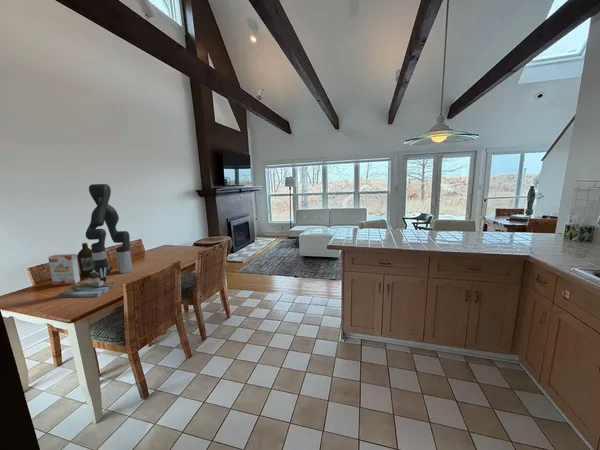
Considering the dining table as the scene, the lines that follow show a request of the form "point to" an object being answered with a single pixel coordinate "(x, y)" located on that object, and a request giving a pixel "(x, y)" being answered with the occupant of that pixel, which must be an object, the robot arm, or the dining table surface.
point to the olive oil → (85, 260)
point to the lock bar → (94, 282)
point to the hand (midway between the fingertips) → (103, 282)
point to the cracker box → (64, 269)
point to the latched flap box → (86, 290)
